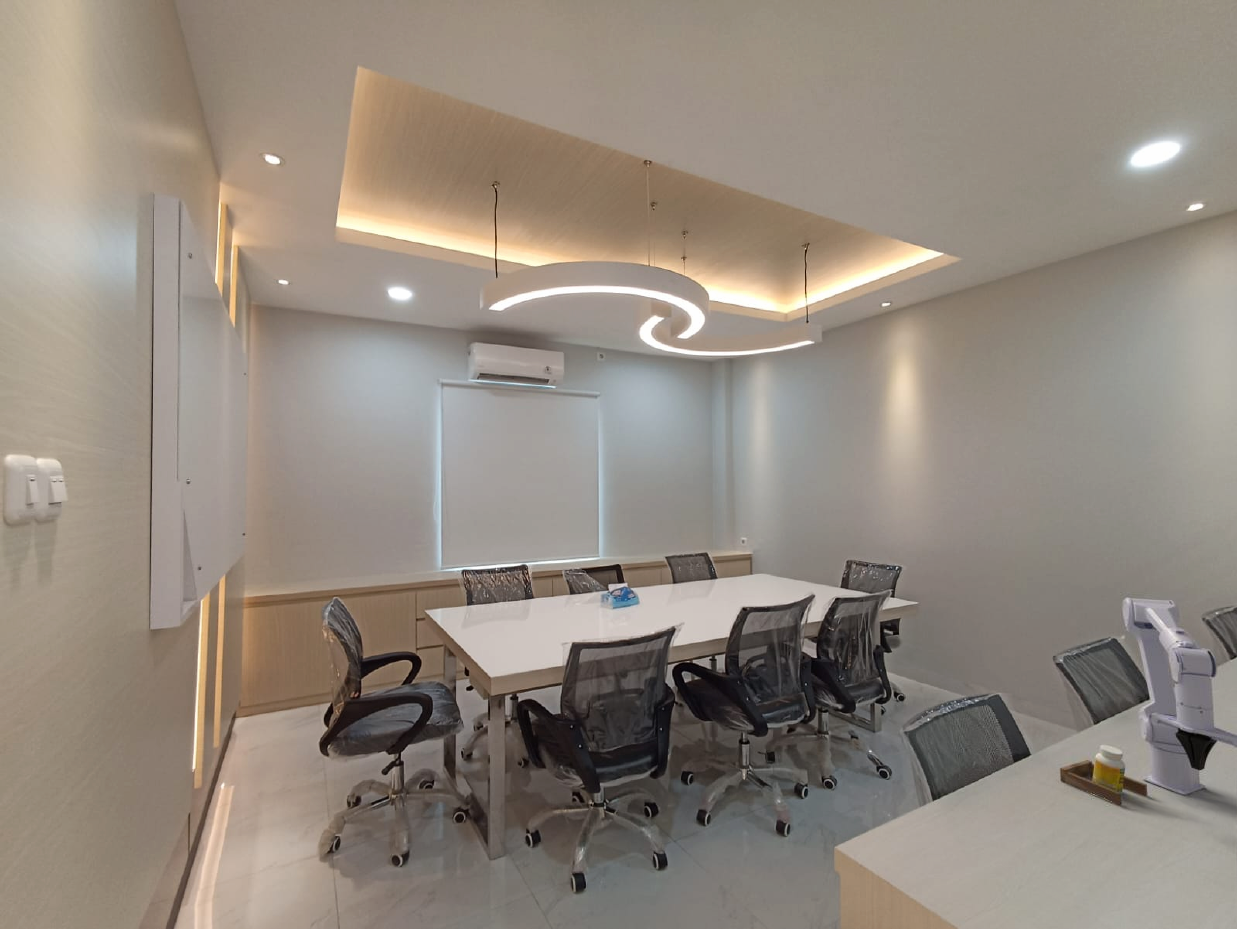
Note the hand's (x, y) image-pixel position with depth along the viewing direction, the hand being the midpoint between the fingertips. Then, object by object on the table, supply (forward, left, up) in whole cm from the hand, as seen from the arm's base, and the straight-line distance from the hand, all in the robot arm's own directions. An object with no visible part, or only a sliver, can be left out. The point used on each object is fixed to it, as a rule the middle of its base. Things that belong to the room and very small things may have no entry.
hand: (1197, 768), depth 123 cm
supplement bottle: (+5, -15, -10) cm, 19 cm away
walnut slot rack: (+5, -15, -10) cm, 19 cm away
